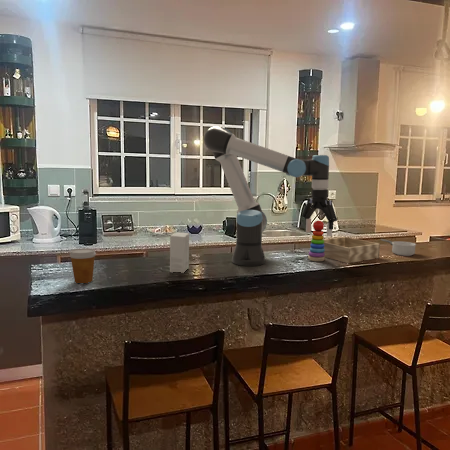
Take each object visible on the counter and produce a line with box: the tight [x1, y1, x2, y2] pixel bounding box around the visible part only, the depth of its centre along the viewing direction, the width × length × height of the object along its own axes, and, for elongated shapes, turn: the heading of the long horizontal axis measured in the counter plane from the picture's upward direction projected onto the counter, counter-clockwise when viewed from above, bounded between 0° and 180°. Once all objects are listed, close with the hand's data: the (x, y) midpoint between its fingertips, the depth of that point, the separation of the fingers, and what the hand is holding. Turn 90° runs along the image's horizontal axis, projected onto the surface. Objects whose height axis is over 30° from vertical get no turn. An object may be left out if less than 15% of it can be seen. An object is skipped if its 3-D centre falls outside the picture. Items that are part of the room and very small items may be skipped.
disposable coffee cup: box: [68, 247, 97, 284], centre depth 164 cm, size 10×10×12 cm
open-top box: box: [323, 236, 381, 264], centre depth 215 cm, size 22×22×7 cm
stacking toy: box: [307, 220, 326, 262], centre depth 205 cm, size 8×8×19 cm
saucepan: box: [380, 238, 417, 257], centre depth 226 cm, size 12×20×6 cm, turn 30°
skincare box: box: [169, 231, 190, 274], centre depth 182 cm, size 8×7×16 cm
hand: (318, 234), depth 204 cm, fingers open, 13 cm apart
